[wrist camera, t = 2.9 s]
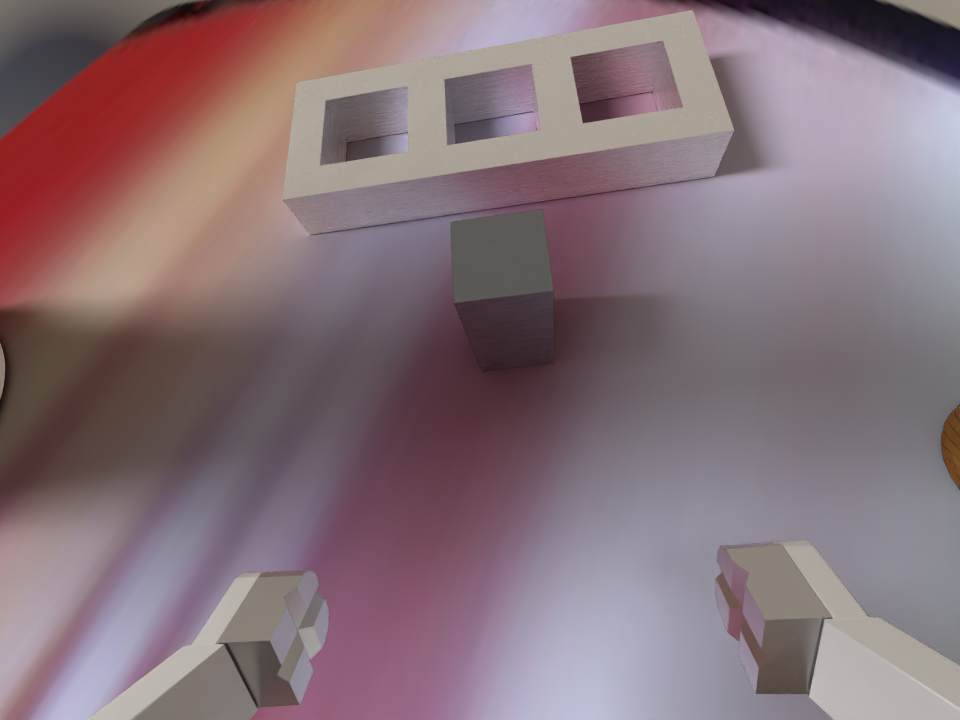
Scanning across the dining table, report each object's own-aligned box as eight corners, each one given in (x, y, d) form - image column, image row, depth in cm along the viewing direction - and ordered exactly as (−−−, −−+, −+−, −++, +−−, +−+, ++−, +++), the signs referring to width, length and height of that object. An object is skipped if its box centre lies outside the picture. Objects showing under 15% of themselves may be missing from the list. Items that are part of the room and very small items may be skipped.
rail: (310, 234, 32) (282, 199, 28) (320, 124, 35) (296, 82, 32) (714, 176, 29) (734, 129, 26) (678, 63, 33) (692, 10, 29)
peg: (481, 370, 26) (453, 302, 19) (477, 307, 28) (450, 222, 21) (553, 363, 26) (553, 290, 19) (545, 299, 27) (542, 208, 20)
